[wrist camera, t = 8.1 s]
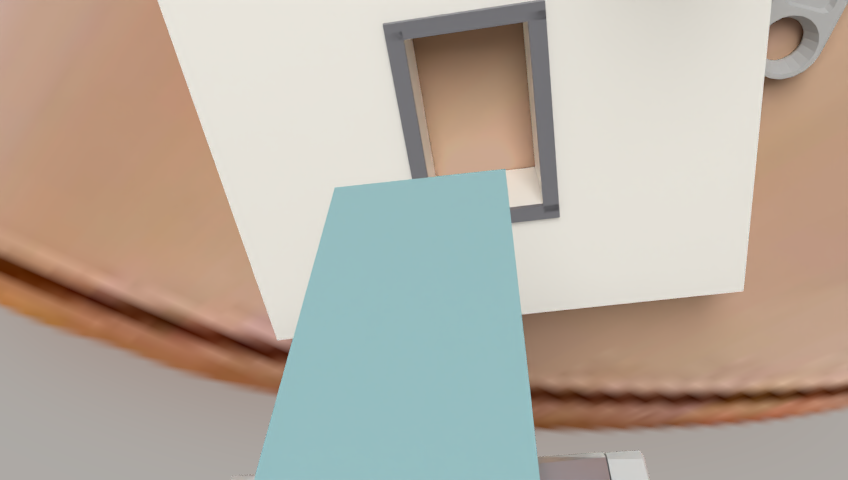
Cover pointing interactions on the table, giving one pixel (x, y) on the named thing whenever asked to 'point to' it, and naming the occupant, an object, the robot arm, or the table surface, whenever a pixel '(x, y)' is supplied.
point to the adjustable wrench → (818, 14)
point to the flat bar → (409, 341)
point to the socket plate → (551, 129)
